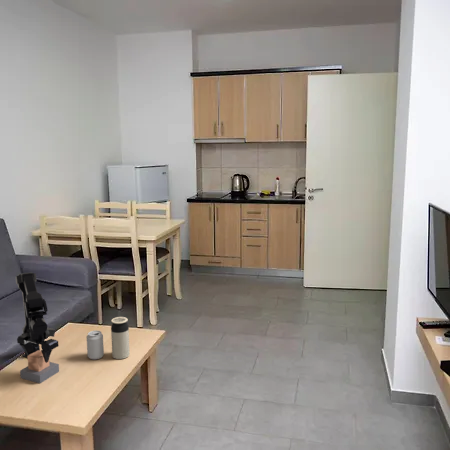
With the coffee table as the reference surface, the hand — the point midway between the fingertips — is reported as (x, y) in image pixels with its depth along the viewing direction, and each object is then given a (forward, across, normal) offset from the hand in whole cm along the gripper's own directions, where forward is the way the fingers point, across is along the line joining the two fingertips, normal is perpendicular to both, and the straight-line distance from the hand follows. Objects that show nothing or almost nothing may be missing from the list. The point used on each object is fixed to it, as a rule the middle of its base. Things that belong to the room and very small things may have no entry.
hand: (39, 360), depth 198 cm
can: (+7, -10, -24) cm, 27 cm away
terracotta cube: (+3, 0, 0) cm, 3 cm away
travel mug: (+7, -20, -30) cm, 37 cm away
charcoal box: (+7, 0, 0) cm, 7 cm away
